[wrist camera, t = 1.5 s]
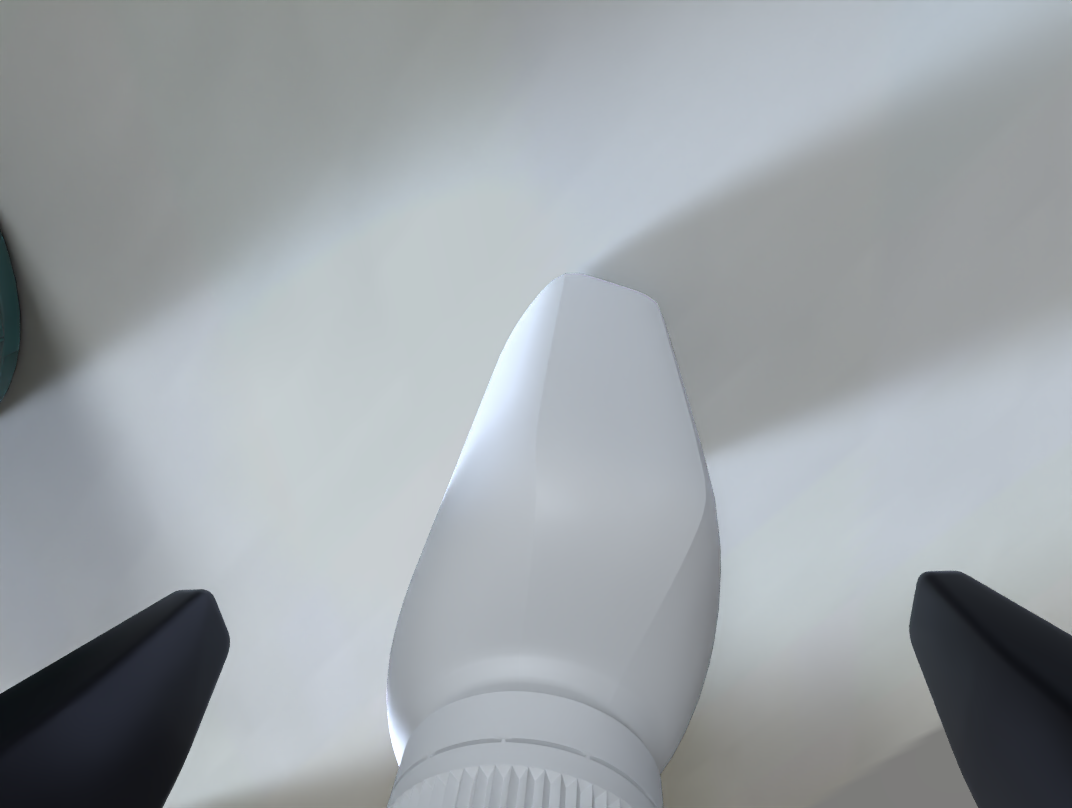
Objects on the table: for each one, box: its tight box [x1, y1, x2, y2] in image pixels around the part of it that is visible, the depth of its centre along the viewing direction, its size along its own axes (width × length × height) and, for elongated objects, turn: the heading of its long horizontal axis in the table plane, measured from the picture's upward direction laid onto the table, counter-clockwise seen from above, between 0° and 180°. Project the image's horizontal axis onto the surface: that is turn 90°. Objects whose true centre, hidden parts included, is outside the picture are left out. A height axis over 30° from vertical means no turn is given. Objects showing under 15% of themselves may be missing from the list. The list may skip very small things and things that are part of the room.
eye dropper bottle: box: [387, 273, 721, 808], centre depth 8 cm, size 4×6×12 cm
